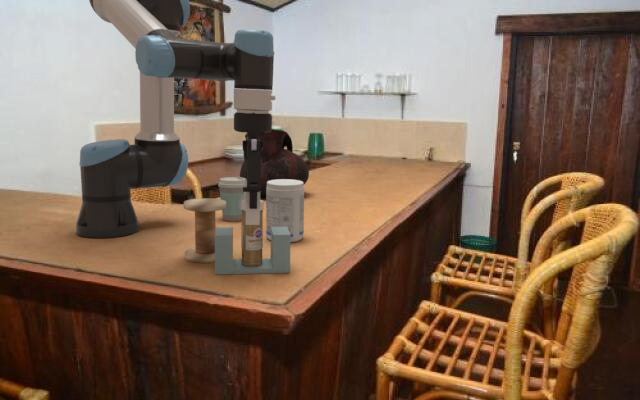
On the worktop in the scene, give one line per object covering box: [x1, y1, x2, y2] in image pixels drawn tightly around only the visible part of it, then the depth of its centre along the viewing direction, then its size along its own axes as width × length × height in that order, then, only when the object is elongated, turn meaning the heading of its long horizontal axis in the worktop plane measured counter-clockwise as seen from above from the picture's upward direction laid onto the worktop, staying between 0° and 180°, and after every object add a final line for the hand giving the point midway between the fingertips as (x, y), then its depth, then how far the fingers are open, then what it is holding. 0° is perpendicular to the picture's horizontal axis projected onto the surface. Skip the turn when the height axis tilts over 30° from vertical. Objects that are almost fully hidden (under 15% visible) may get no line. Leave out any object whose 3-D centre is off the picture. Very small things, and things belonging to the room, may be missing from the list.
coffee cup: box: [217, 176, 245, 222], centre depth 155 cm, size 8×8×12 cm
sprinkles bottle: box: [240, 199, 265, 266], centre depth 110 cm, size 5×5×14 cm
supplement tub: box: [265, 179, 305, 243], centre depth 135 cm, size 10×10×15 cm
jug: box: [239, 128, 310, 198], centre depth 195 cm, size 25×25×25 cm
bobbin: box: [183, 197, 226, 264], centre depth 117 cm, size 9×9×12 cm
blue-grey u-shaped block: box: [214, 226, 291, 275], centre depth 111 cm, size 15×7×8 cm, turn 99°
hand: (251, 216), depth 110 cm, fingers open, 13 cm apart
